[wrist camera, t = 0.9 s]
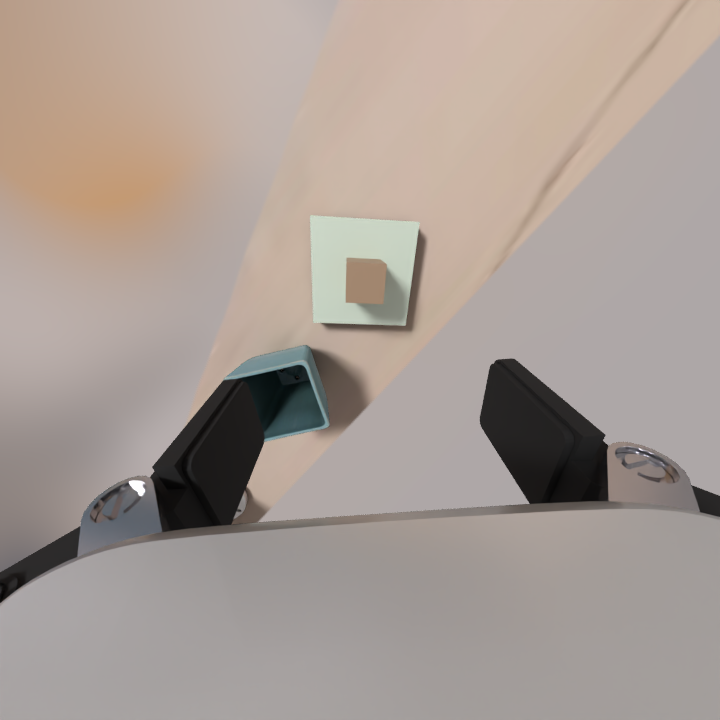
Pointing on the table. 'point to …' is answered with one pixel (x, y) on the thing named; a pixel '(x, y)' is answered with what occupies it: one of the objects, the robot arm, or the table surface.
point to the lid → (361, 269)
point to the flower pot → (285, 392)
